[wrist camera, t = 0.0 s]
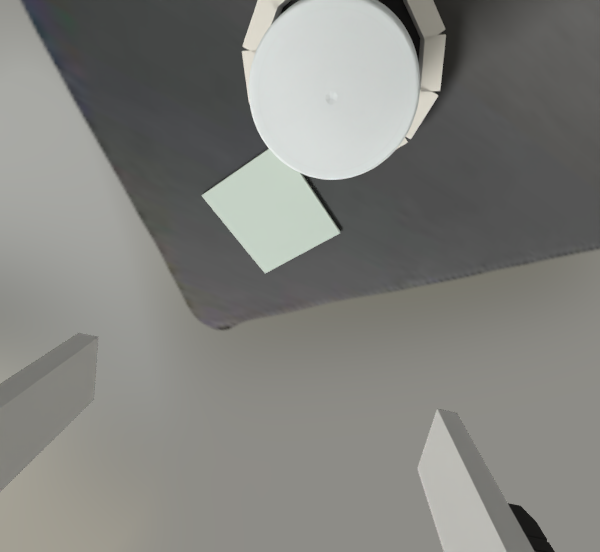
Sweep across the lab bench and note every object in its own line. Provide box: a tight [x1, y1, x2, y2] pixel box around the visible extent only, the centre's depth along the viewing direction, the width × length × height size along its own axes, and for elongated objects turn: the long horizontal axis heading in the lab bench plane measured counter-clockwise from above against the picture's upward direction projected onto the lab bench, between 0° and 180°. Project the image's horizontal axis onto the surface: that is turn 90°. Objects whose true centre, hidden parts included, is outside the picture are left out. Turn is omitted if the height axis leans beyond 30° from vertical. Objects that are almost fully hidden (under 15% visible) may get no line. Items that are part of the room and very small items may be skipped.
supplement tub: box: [249, 0, 420, 180], centre depth 27 cm, size 10×10×15 cm
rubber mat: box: [202, 149, 340, 273], centre depth 41 cm, size 10×11×1 cm
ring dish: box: [242, 0, 446, 148], centre depth 32 cm, size 16×16×2 cm
